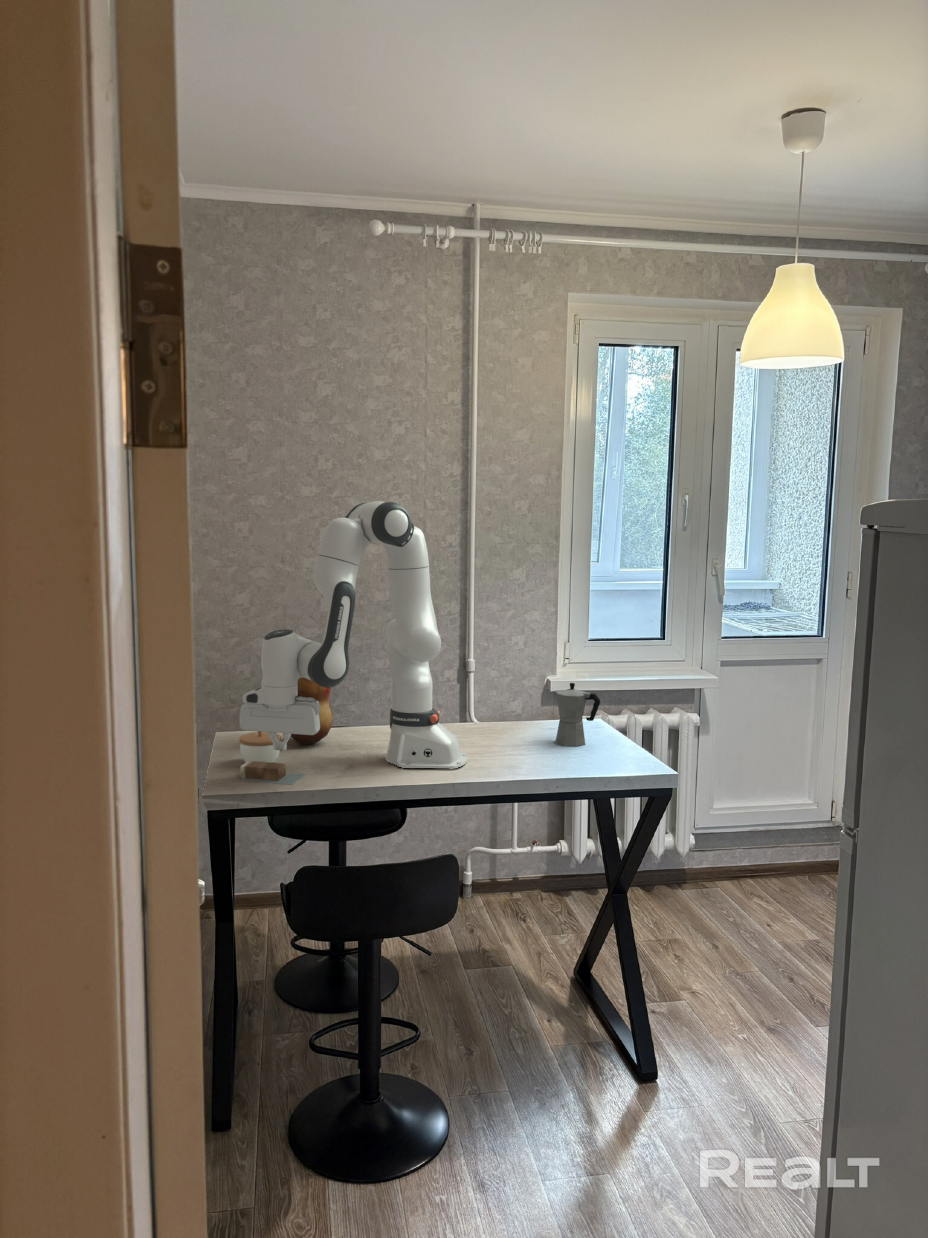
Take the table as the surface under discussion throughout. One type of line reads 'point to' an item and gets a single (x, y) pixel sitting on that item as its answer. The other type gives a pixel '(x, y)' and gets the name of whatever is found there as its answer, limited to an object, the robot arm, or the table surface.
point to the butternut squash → (322, 696)
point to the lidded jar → (258, 747)
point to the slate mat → (287, 779)
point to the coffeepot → (573, 715)
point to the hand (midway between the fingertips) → (280, 749)
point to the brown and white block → (263, 770)
